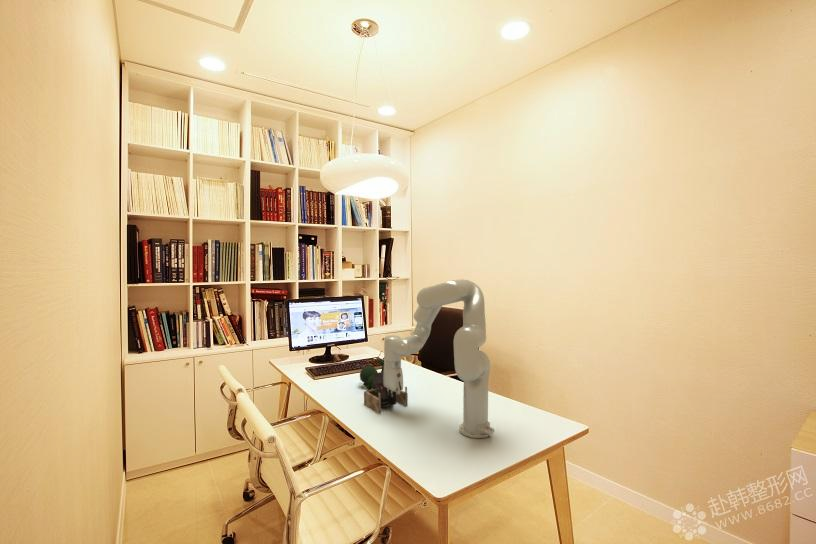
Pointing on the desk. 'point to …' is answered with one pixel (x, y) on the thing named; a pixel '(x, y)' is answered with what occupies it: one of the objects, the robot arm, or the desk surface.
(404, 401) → the walnut bay
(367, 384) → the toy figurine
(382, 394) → the dark barrel
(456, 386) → the desk surface
